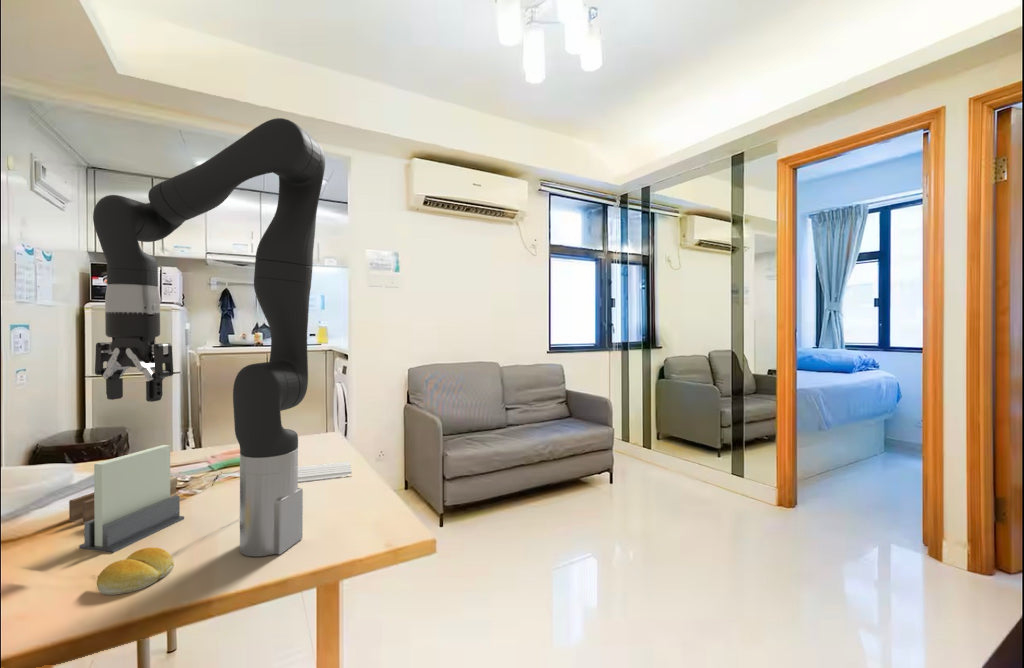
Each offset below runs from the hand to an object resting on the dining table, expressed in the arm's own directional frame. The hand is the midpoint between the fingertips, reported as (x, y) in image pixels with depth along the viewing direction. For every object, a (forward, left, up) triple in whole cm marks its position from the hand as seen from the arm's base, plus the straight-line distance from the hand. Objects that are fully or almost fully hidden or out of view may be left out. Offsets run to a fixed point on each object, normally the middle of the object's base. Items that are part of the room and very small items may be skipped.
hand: (134, 400), depth 80 cm
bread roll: (-12, +9, -26) cm, 30 cm away
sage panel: (0, 0, -24) cm, 24 cm away
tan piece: (+7, -8, -24) cm, 27 cm away
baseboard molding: (-5, -35, -27) cm, 44 cm away
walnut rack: (+11, -8, -26) cm, 29 cm away
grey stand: (0, 0, -26) cm, 26 cm away
